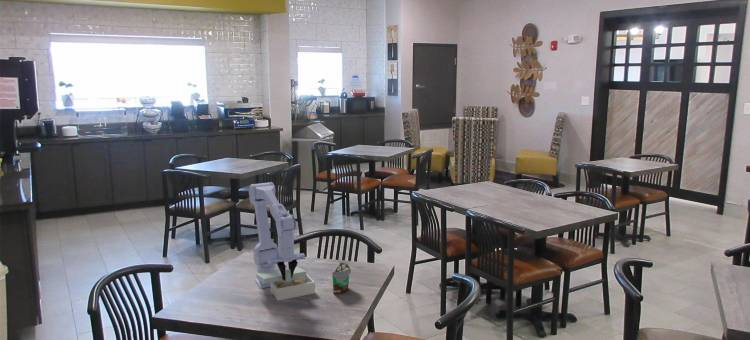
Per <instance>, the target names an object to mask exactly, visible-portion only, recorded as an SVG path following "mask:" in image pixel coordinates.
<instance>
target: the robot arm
mask: <svg viewBox="0 0 750 340" xmlns="http://www.w3.org/2000/svg"><path fill="white" fill-rule="evenodd" d="M248 195H249V196H248V197H249V201H250V202H249V203H250V204H252V205H253V207H254V212H255V220H256V228H257V234H258V236H257V237H258V243H257V244H256V245H255V246H254V248H253V262H254V263H255V265H257V266H256V271H257V272H256V274H257V273H263V272H268V271H274V270H277V269H276V265H277V268H278V270H280V272H281V275H282V279H283V280H285V279H286V277H285V269H286V268H287V265H286V264H285V262H287V264H288V268H289V270H291V279H292V277H293V273H294V270H295V268H296V267H298V261H299V260H306V254H305V253H303V252H302V253H295V240H294V239H295V238H294V237H295V236H294V235H295V234H294V233H295V232H294V230H296V228H297V222H296V218H295V215H293V214H291V213H289V212H288V210H287V209H286V207H285V206H284V205H283V204H282V203H280V202H279V201H278V198H277V197H276V186H275V184H274V183H273V182H272V181H270V182H263V183H254V184H253V183H251V184H250V185H249V187H248ZM267 205H268V206H269V209H270V210H269V211H270V212H269V213H270V214H271V216H272V218H273V219H274V221H275V227H276V231H277V235H278V244H276V243H275V242H273V241H272V240H271V231H270V224H269V218H268V217H269V216H268V210H267ZM297 260H298V261H297ZM255 283H256V284H257V285H258V286H259V288H260V289H265V288H270V283H263V282H261V281H260V280H259V279H257V278H256V279H255Z"/></svg>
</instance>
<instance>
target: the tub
mask: <svg viewBox="0 0 750 340" xmlns="http://www.w3.org/2000/svg"><path fill="white" fill-rule="evenodd" d="M269 288H270V291H269V292H270V294H272V296H273V297H274V298H275V300H276V301H283V300H288V299H294V298H298V297H303V296H308V295H313V294H316V282H315V281H314V280H313V278H312V277H310V276H309V274H307V276H302V277H297V278H292V279H291V281H288V282H286V281H284V280H280V281H275V282H270V287H269Z"/></svg>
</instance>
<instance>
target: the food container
mask: <svg viewBox="0 0 750 340" xmlns="http://www.w3.org/2000/svg"><path fill="white" fill-rule="evenodd" d="M351 273H352V269H351V266H350V265H349V264H348V263H345V262H339V265H338V267H336V269H335V271H332V273H331V274H332V288H333V289H332V290H333V291H332V292H333V295H341V294H344V293H347V292H348V291H349V284H350V282H349V281H350V274H351Z"/></svg>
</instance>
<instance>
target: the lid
mask: <svg viewBox="0 0 750 340" xmlns="http://www.w3.org/2000/svg"><path fill="white" fill-rule="evenodd" d="M307 275H308V273H307V271H306V270H304V269H303V268H301V267H298V266H296V268H295V270H294V273H293V277H292V278H297V277H302V276H307ZM255 277H256V279H259V280H260V281H261V282H263V283H270V282H275V281H280V280H283V279H282V275H281V272H280V269H276V270H274V271H268V272H263V273H257V272H256V273H255ZM285 277H286V279H285V280H284V281H286V282H288V281H291V270H289V267H286V269H285Z"/></svg>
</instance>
